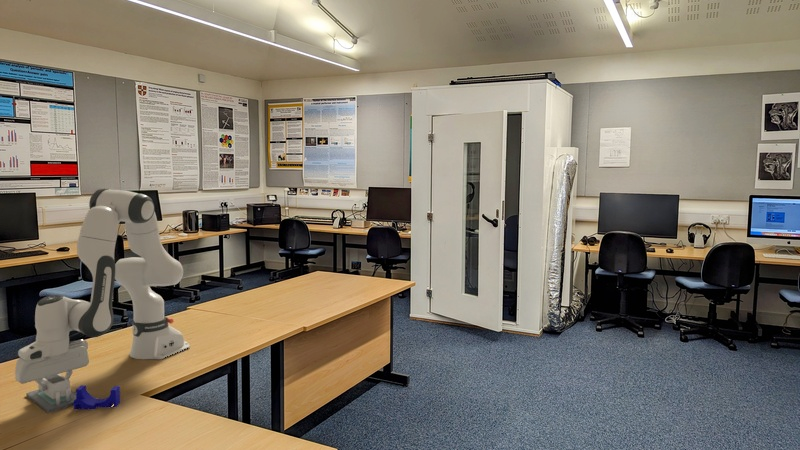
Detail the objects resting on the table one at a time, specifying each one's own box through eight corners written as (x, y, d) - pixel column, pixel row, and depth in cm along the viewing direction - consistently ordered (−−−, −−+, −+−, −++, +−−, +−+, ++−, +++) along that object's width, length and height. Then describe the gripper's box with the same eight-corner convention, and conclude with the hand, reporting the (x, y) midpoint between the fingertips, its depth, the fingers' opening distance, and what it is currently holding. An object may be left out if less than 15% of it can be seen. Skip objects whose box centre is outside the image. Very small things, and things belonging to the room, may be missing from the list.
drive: (56, 384, 175) (56, 371, 175) (70, 393, 170) (69, 380, 169) (39, 389, 171) (39, 376, 171) (52, 399, 166) (52, 385, 165)
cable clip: (74, 409, 165) (73, 391, 164) (81, 403, 169) (80, 385, 169) (113, 410, 166) (113, 392, 165) (120, 403, 171) (119, 386, 170)
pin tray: (60, 386, 180) (59, 372, 179) (83, 401, 170) (82, 387, 169) (26, 396, 172) (25, 381, 171) (48, 413, 162) (47, 397, 161)
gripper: (83, 335, 179) (84, 374, 180) (12, 352, 162) (14, 394, 164) (91, 340, 175) (93, 379, 177) (20, 357, 158) (22, 400, 160)
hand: (54, 386), depth 170 cm, fingers closed on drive, 5 cm apart
